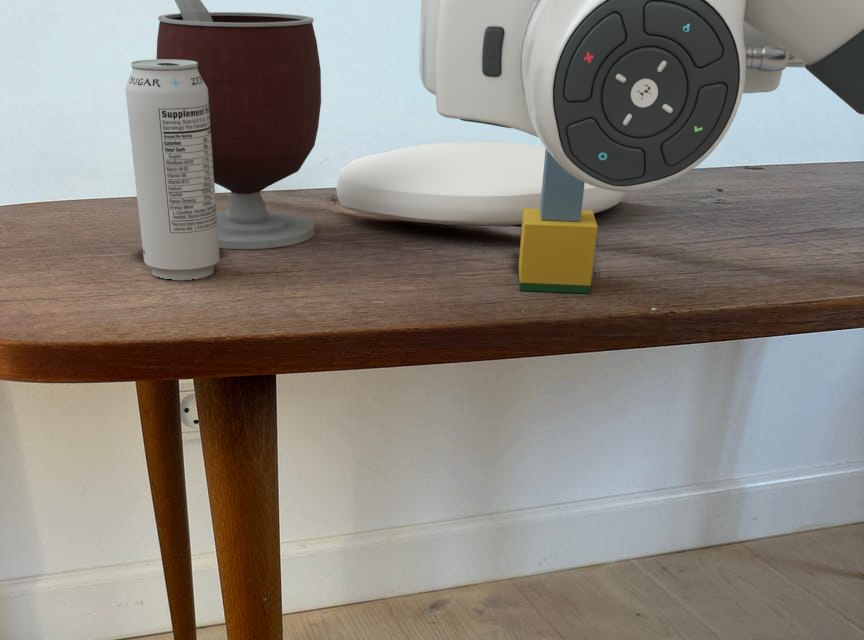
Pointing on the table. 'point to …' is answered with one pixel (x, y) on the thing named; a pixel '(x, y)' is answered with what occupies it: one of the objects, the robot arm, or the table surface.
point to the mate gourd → (252, 109)
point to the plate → (455, 184)
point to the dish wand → (557, 236)
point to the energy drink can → (173, 167)
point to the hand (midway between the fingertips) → (590, 33)
